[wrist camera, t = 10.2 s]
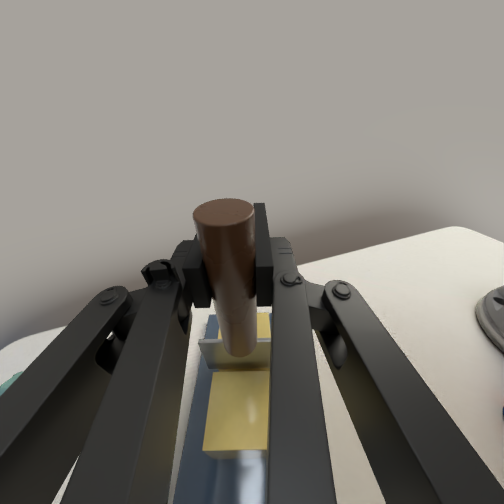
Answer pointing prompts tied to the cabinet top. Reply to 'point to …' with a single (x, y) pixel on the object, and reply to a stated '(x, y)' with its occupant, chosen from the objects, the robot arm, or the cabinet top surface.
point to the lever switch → (226, 432)
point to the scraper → (231, 284)
